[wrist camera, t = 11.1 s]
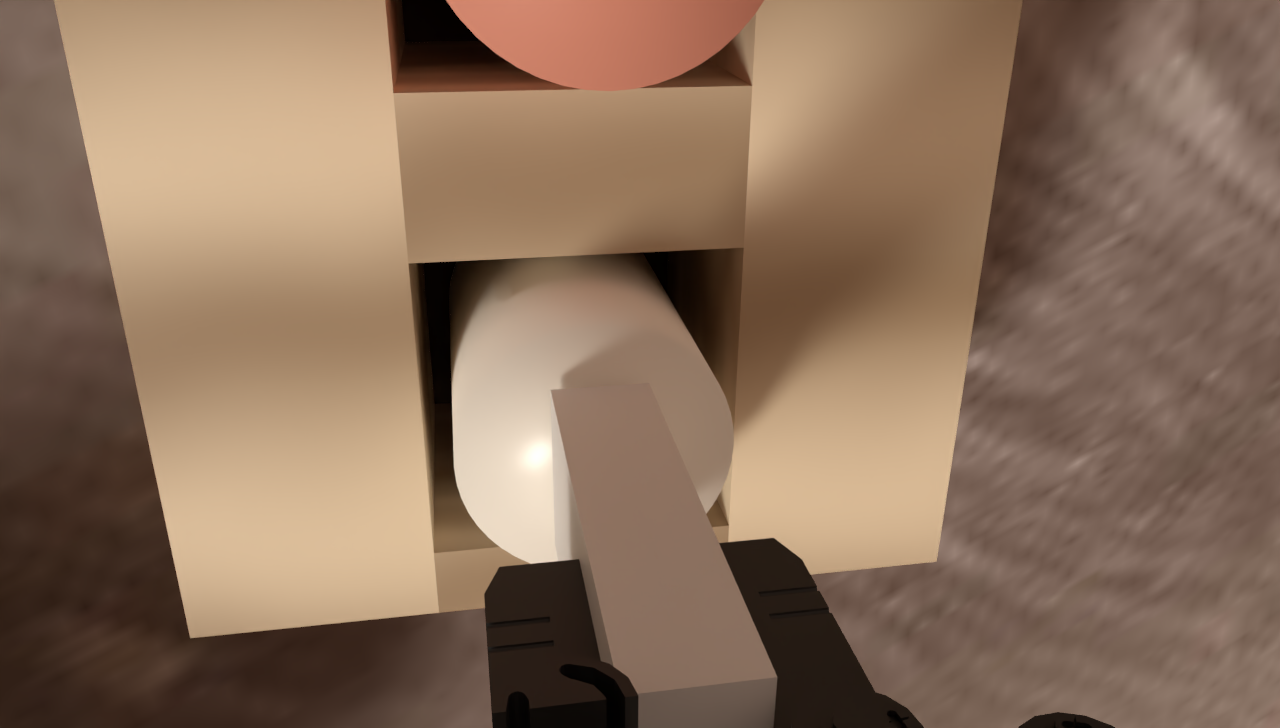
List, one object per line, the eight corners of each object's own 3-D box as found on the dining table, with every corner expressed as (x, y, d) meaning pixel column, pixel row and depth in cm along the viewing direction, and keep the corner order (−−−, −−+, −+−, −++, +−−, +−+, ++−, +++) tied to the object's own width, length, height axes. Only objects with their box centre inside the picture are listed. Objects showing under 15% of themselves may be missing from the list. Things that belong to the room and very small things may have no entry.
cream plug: (442, 203, 21) (443, 333, 15) (653, 195, 22) (740, 315, 15) (456, 396, 23) (462, 585, 17) (650, 383, 24) (727, 558, 17)
